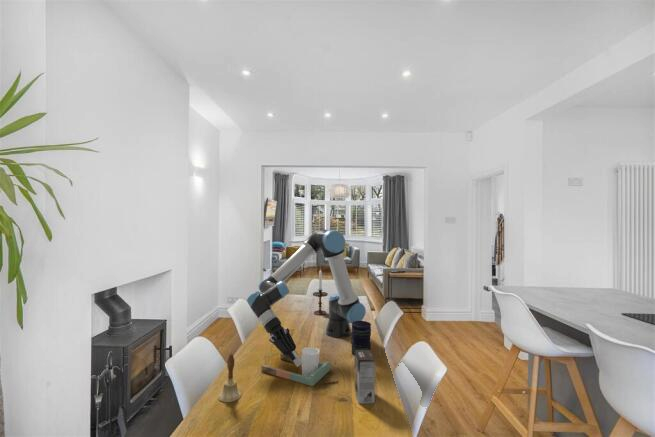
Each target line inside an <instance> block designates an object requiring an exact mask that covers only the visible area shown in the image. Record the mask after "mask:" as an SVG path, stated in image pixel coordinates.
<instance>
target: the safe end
mask: <svg viewBox="0 0 655 437" xmlns="http://www.w3.org/2000/svg"><path fill="white" fill-rule="evenodd" d="M330 370H331V361H330V360H327V361H325V362H321V361H319V363H318V369H317V370H316V371H315V372H314V373H313V374H312V375H310V377H306V376H303V375H302V374H299V373H295V372H292V371H290V372H291V373H290V379H289V380H290V381H293V382H297V383H301V384H304V385H308V386H311V387H314V386H315V384H317V383H318V382H319V381H320V380H321V379H322V378H323V377H324V376H325V375H327V373H329V371H330Z"/></svg>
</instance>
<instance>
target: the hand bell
mask: <svg viewBox="0 0 655 437" xmlns="http://www.w3.org/2000/svg"><path fill="white" fill-rule="evenodd" d="M226 366H227V370H228V375H227V376H228V377H227V380H226V381H224V384H223V389H222V391H221V393H219V395H218V400H219V401H220V402H222V403H232V402H233V403H234V402H236V401H238V400H239V399H240V398H241V396H242V392H241V391H240V390H239V388H238V386H237V380H236V379H233V378H234V376H233V375H234V373H233V372H234V368H235V357H234V354H233V353H229V355H228V359H227V364H226Z"/></svg>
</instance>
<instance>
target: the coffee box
mask: <svg viewBox="0 0 655 437" xmlns="http://www.w3.org/2000/svg"><path fill="white" fill-rule="evenodd" d="M354 393H355V396H356V400H357V403H358V404H360V405H361V404H362V405H363V404H375V401H376V400H375V397H376V396H375V393H376V360H375V357H374V355H373V353H372V351H370V350H355V356H354Z"/></svg>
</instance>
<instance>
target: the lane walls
mask: <svg viewBox="0 0 655 437" xmlns="http://www.w3.org/2000/svg"><path fill="white" fill-rule="evenodd" d="M280 360H282V361H286V362H291V363H294V362H293V361H292V360H291V358H290V357H289V355H288V356H286V355H283V354H282V352H280ZM277 369H278V368H277V367H273V366H270V365H266V364H262V365H261V372H263V373H265V374H269V375H273V376H276V370H277Z"/></svg>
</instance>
